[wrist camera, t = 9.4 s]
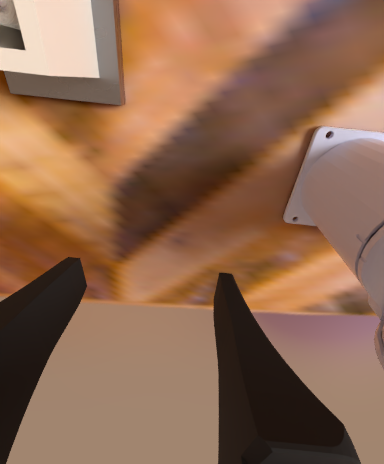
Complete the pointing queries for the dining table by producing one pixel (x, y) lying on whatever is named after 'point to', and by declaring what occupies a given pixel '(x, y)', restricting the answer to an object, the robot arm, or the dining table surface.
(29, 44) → the square tube cup
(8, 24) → the shaft block
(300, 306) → the dining table surface
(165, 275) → the dining table surface
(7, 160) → the dining table surface
